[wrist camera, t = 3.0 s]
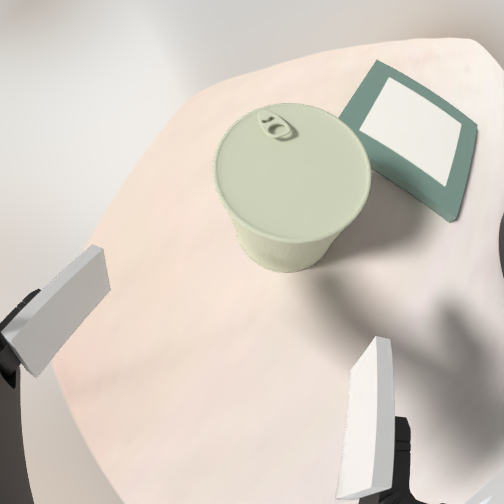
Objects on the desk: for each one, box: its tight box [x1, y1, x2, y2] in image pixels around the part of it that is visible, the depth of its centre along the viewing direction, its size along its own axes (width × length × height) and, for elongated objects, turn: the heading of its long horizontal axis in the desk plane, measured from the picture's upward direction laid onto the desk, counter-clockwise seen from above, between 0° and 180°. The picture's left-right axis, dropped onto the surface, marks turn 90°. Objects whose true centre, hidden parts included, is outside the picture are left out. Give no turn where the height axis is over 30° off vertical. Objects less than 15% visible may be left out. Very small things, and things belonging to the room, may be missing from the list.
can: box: [213, 103, 371, 273], centre depth 21 cm, size 9×9×12 cm
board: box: [339, 60, 477, 222], centre depth 27 cm, size 16×16×2 cm
